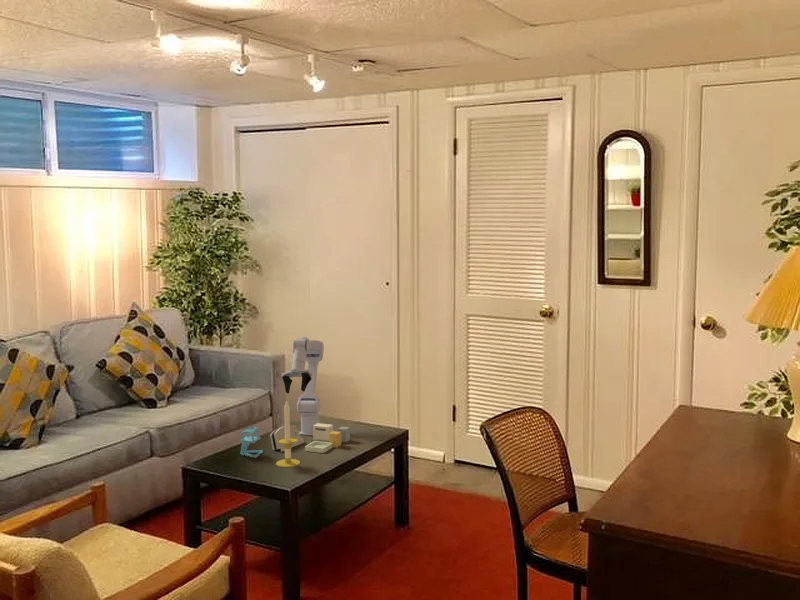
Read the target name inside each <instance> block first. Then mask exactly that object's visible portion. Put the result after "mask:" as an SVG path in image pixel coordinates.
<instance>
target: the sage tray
mask: <svg viewBox="0 0 800 600" xmlns="http://www.w3.org/2000/svg"><path fill="white" fill-rule="evenodd" d="M333 448H334V447H333V443H330V442H321V441H313V442H310V443H308V444H307V445H305V446H304V451H305V452H311V453H319V454H324V453H326V452H328V451H329V450H331V449H333Z"/></svg>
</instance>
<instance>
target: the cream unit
mask: <svg viewBox="0 0 800 600" xmlns="http://www.w3.org/2000/svg"><path fill="white" fill-rule="evenodd" d="M332 431H334V424H331V423H330V424H329V423H328V424H327V423H321V422H320V423H317V424H315V425H313V435H312V439H311V440H310V441H311V442H310V443H312V442H313V441H321V442H329V433H331V432H332Z"/></svg>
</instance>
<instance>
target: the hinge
mask: <svg viewBox="0 0 800 600" xmlns="http://www.w3.org/2000/svg"><path fill="white" fill-rule="evenodd" d="M299 432H300V431H299V430H298V426H297V425H296V424H295V425H294V424H290V437H292V438H297V439H298V441H297V442H296V443H293V444H291V449H292V448H293V447H297V446H299V445H301V444H304V443H305V440H304V438H303V437H302V436H301V434H299ZM269 438H270V443H271V447H272V451H276V450H280V452H281V453H282V452H285V444H280V443H278V442H277V440H278V439H280V438H285V425H282V426H280V427H277V428H276V429H274V431H272V432H271V433H270V434H269Z"/></svg>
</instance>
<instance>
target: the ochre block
mask: <svg viewBox="0 0 800 600" xmlns="http://www.w3.org/2000/svg"><path fill="white" fill-rule="evenodd" d="M329 442H330V443H333V447H332V448H339V447H341V446H342V442H341V432H338V430H336V431H335V430H333V431H332V432H331V433H329ZM338 446H339V447H338Z"/></svg>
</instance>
